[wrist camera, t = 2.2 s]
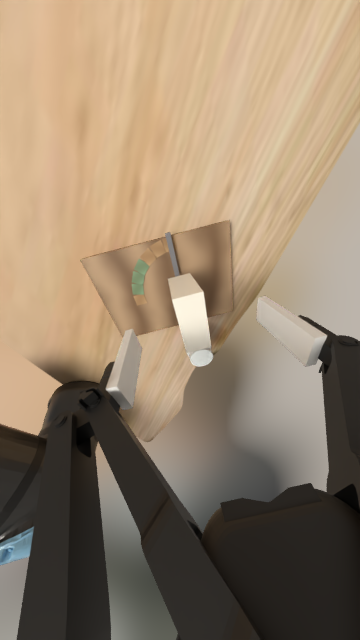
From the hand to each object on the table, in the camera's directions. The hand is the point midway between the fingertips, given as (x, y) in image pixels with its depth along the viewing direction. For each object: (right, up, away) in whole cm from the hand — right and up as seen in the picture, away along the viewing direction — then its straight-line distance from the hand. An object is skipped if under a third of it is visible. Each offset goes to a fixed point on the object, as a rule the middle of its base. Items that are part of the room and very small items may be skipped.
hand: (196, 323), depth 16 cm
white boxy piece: (-2, +8, +8) cm, 11 cm away
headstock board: (-4, +7, +11) cm, 14 cm away
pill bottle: (+1, -2, +17) cm, 17 cm away
